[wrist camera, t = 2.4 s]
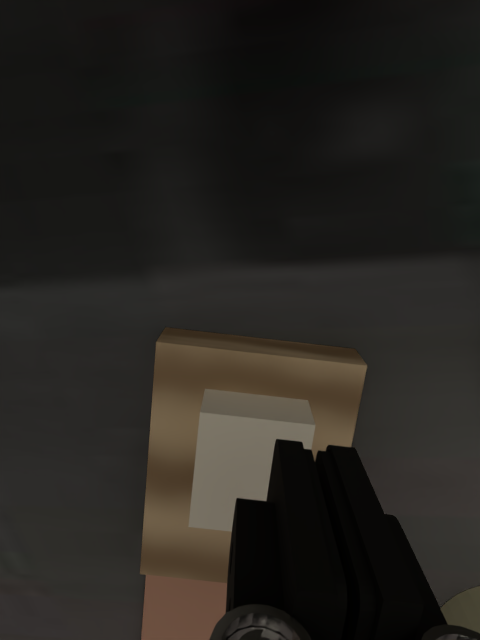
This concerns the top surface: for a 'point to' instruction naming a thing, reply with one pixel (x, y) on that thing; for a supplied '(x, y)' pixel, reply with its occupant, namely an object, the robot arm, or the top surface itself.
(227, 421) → the cream block
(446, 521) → the top surface
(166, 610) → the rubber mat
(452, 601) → the reusable coffee cup
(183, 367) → the oak board
